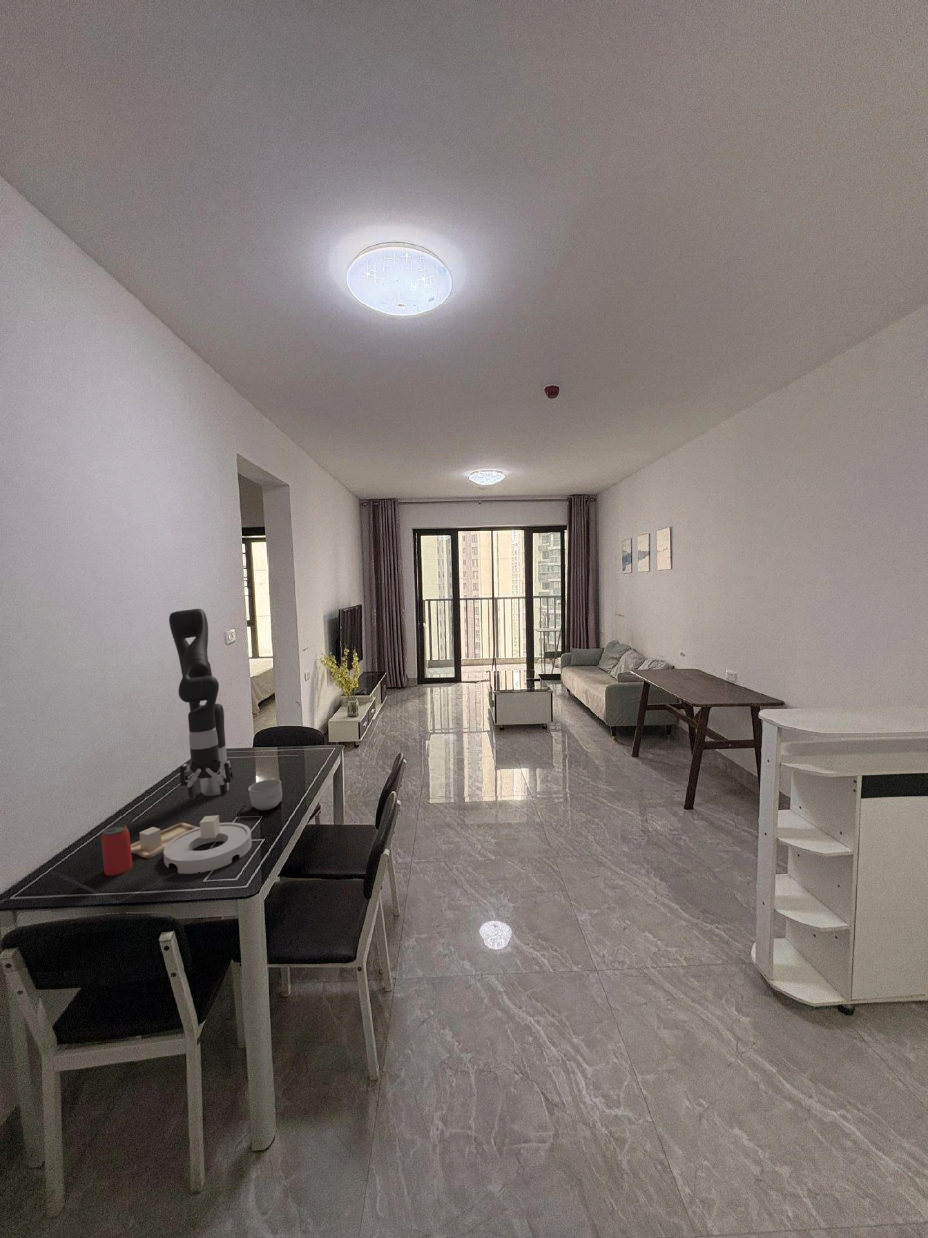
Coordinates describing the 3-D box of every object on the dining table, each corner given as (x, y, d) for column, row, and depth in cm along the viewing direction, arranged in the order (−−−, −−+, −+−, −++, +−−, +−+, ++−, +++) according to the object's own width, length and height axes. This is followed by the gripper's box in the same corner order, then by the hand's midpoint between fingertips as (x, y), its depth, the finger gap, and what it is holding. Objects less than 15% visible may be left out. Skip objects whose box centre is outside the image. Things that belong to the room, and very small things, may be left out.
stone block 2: (201, 838, 161) (199, 822, 161) (206, 832, 165) (205, 816, 165) (215, 837, 161) (213, 821, 161) (220, 831, 165) (218, 815, 165)
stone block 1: (140, 848, 163) (139, 832, 162) (154, 842, 166) (152, 826, 166) (148, 851, 161) (147, 835, 160) (161, 845, 164) (160, 829, 164)
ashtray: (155, 882, 146) (154, 868, 146) (174, 842, 168) (173, 830, 168) (248, 865, 152) (247, 851, 152) (254, 829, 175) (254, 817, 174)
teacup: (272, 814, 185) (270, 791, 184) (243, 812, 187) (241, 790, 186) (293, 797, 198) (291, 775, 198) (266, 796, 200) (264, 775, 200)
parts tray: (124, 851, 163) (124, 847, 163) (182, 826, 178) (181, 822, 178) (148, 860, 157) (147, 856, 157) (205, 833, 172) (204, 829, 172)
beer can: (113, 865, 155) (108, 824, 154) (137, 863, 155) (133, 822, 154) (99, 878, 148) (95, 835, 147) (125, 876, 149) (120, 833, 148)
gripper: (173, 749, 157) (178, 804, 159) (224, 746, 159) (229, 800, 160) (184, 741, 165) (188, 794, 166) (233, 738, 166) (237, 790, 168)
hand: (208, 797), depth 163 cm, fingers open, 8 cm apart
